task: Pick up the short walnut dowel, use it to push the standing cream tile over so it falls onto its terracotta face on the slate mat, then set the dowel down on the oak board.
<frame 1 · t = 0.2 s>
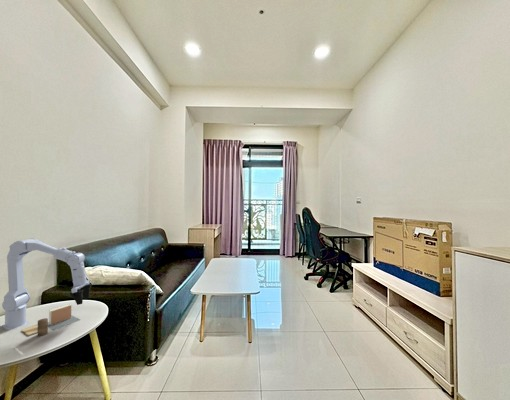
hand: (83, 301, 127), 10 cm above the table, tool pointing down, fingers open, 7 cm apart
dowel: (42, 335, 113), on the table
tile: (60, 320, 126), resting on mat
mat: (62, 322, 125), on the table
board: (34, 330, 117), on the table
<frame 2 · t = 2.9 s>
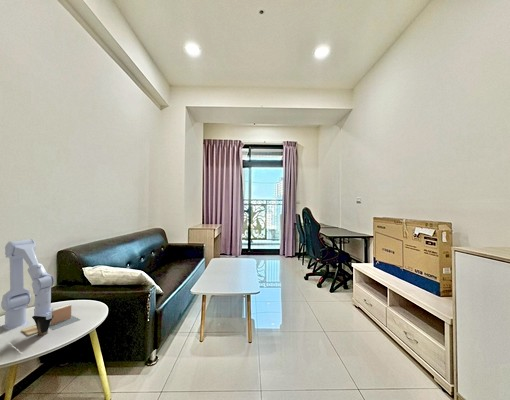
hand: (42, 330, 113), 2 cm above the table, tool pointing down, fingers closed on dowel, 4 cm apart
dowel: (42, 334, 113), on the table, touching gripper
everything else where it was.
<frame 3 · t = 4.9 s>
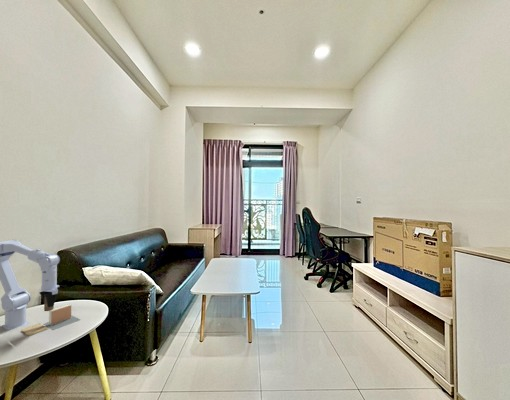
hand: (49, 305, 121), 10 cm above the table, tool pointing down, fingers closed on dowel, 4 cm apart
dowel: (48, 309, 121), point 8 cm above the table, touching gripper
everything else where it was.
when the fingers open (7 cm above the table, at t = 7.2 s): dowel stays where it is, resting on tile.
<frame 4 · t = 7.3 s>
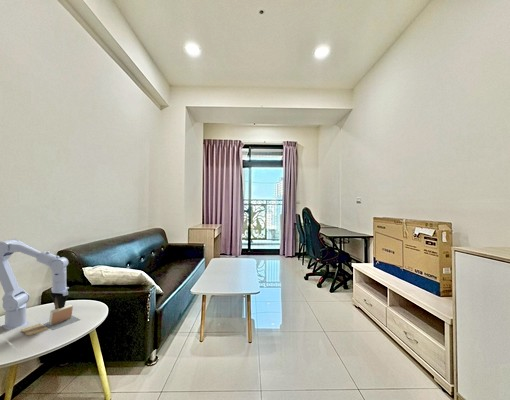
hand: (59, 306, 127), 8 cm above the table, tool pointing down, fingers open, 4 cm apart
dowel: (59, 310, 127), point 6 cm above the table, touching gripper, tile
tile: (60, 320, 126), point 1 cm above the table, tilted 14°, touching dowel, gripper, mat
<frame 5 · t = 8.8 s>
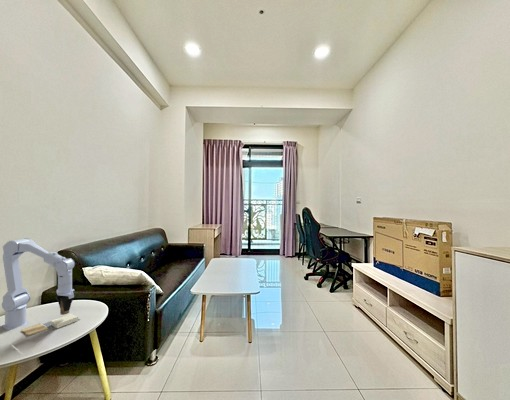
hand: (64, 309, 123), 7 cm above the table, tool pointing down, fingers closed on dowel, 4 cm apart
dowel: (64, 313, 123), point 6 cm above the table, touching gripper
tile: (61, 319, 125), point 2 cm above the table, tilted 90°, touching mat
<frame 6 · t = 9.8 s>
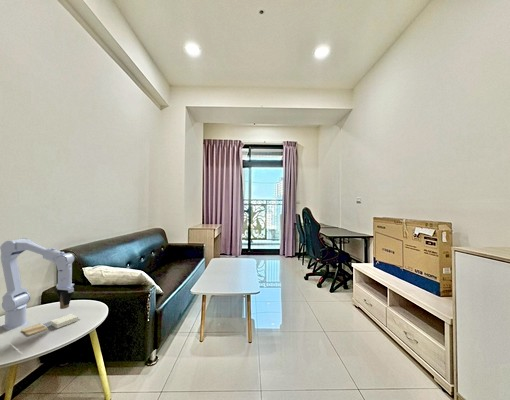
hand: (64, 303, 123), 10 cm above the table, tool pointing down, fingers closed on dowel, 4 cm apart
dowel: (64, 307, 123), point 9 cm above the table, touching gripper
everything else where it was.
when the fingers open (4 cm above the table, at t = 12.1 s): dowel drops 1 cm, resting on board.
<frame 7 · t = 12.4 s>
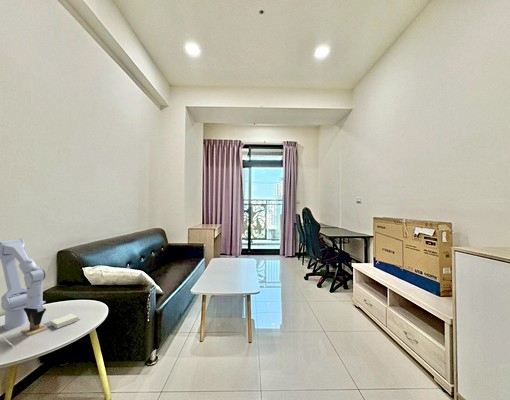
hand: (34, 322, 117), 4 cm above the table, tool pointing down, fingers open, 6 cm apart
dowel: (34, 328, 117), point 1 cm above the table, touching board
everything else where it was.
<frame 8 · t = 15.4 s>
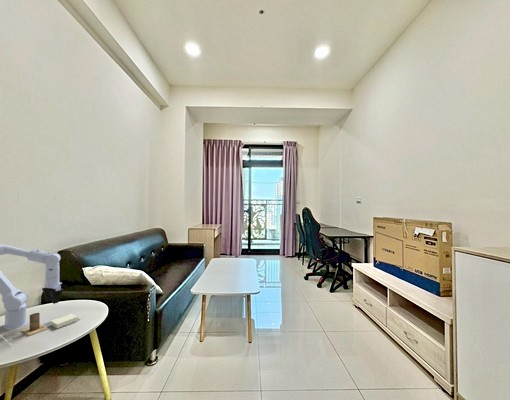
hand: (52, 301, 129), 9 cm above the table, tool pointing down, fingers open, 7 cm apart
nothing on the table moved.
at the end: tile tilted 90°; tile inside the target area on the mat (1.4 cm from its centre), point 1.6 cm above the mat's base; dowel inside the target area on the board (0.0 cm from its centre), point 1.0 cm above the board's base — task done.
